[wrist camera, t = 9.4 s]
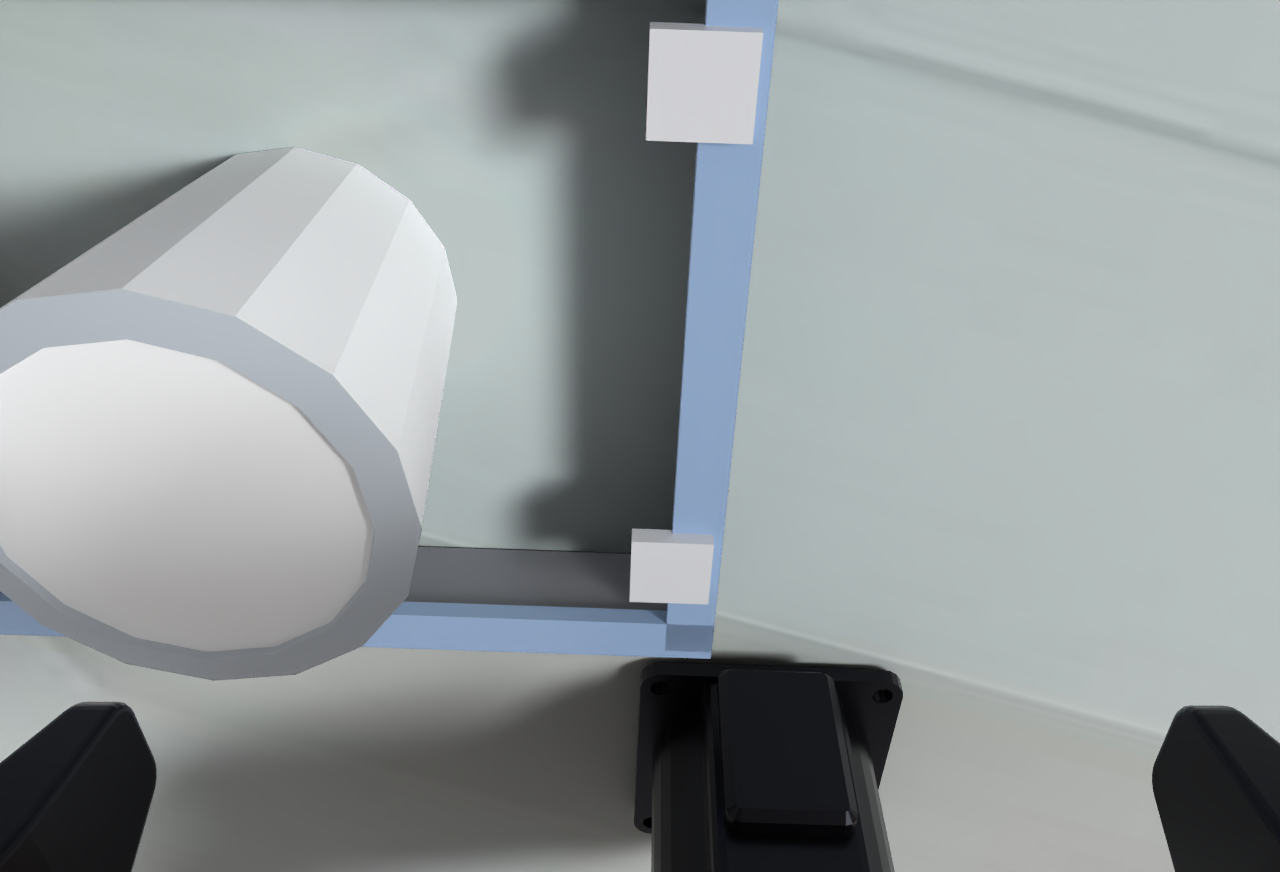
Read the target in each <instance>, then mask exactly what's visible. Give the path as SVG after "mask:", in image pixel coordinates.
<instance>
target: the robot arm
mask: <svg viewBox="0 0 1280 872" xmlns="http://www.w3.org/2000/svg"><path fill="white" fill-rule="evenodd" d="M657 682H666V683H657ZM882 689H885V690H882ZM878 690H880V691H878ZM902 698H903V691H902V687H901V683H900V679H899V678H898V676H897V675H896V674H894V673H893V672H891V671H885V670H866V669H837V668H808V667H779V666H750V665H721V664H693V663H664V662H661V663H653V664H651V665H648V666H647V667H646V668H644V669H643V670H642V673H641V681H640V702H639V724H638V745H637V766H636V788H635V809H634V823H635V826H636V827H637V828H638V829H639V830H640V831H643V832H645V833H652V866H651V872H894V867H893V862H892V857H891V852H890V847H889V842H888V837H887V832H886V827H885V822H884V818H883V813H882V808H881V803H880V798H879V793H878V788H879V785H880V781H881V777H882V773H883V770H884V766H885V762H886V758H887V755H888V751H889V747H890V743H891V739H892V736H893V732H894V728H895V724H896V721H897V717H898V713H899V709H900V706H901V702H902ZM1152 784H1153V792H1154V796H1155V800H1156V803H1157V807H1158V811H1159V814H1160V818H1161V822H1162V825H1163V829H1164V833H1165V836H1166V840H1167V844H1168V847H1169V851H1170V855H1171V858H1172V862H1173V866H1174V869H1175V872H1280V743H1279V742H1278V741H1276V740H1275V739H1274V738H1273V737H1271V736H1270V735H1269V734H1268V733H1266V732H1265V731H1264V730H1263V729H1262V728H1260V727H1259V726H1258V725H1257V724H1255V723H1254V722H1253V721H1252V720H1250V719H1249V718H1248V717H1247V716H1246V715H1244V714H1243V713H1241V712H1240V711H1238V710H1236V709H1234V708H1232V707H1228V706H1185V707H1183V708H1182V709H1180V710H1179V711H1178V712H1177V713H1176V715H1175V717H1174V719H1173V721H1172V723H1171V726H1170V728H1169V730H1168V733H1167V735H1166V737H1165V740H1164V742H1163V745H1162V747H1161V749H1160V752H1159V754H1158V756H1157V759H1156V761H1155V763H1154V767H1153V773H1152ZM155 785H156V764H155V760H154V757H153V755H152V753H151V750H150V748H149V746H148V744H147V741H146V739H145V737H144V735H143V732H142V730H141V728H140V726H139V723H138V721H137V719H136V717H135V714H134V712H133V711H132V709H131V708H130V707H129V706H127V705H126V704H125V703H122V702H82V703H78V704H76V705H74V706H72V707H70V708H69V709H67V710H66V711H64V712H63V713H62V714H61V715H59V716H58V717H57V718H56V719H54V720H53V721H52V722H51V723H49V724H48V725H47V726H46V727H45V728H43V729H42V730H41V731H40V732H38V733H37V734H36V735H35V736H33V737H32V738H31V739H30V740H28V741H27V742H26V743H25V744H23V745H22V746H21V747H20V748H18V749H17V750H16V751H15V752H13V753H12V754H11V755H10V756H8V757H7V758H6V759H5V760H3V761H2V762H1V763H0V872H132V869H133V865H134V862H135V858H136V854H137V851H138V847H139V844H140V840H141V837H142V833H143V829H144V826H145V822H146V819H147V815H148V811H149V808H150V804H151V801H152V797H153V794H154V790H155Z"/></svg>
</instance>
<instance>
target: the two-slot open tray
mask: <svg viewBox="0 0 1280 872" xmlns="http://www.w3.org/2000/svg"><path fill="white" fill-rule="evenodd" d="M777 10H778V0H706V9H705V24H695V23H668V22H650V38H649V66H648V94H647V122H646V141H671V142H697V148H696V164H695V179H694V195H693V210H692V226H691V241H690V256H689V272H688V287H687V303H686V318H685V334H684V349H683V365H682V380H681V396H680V411H679V427H678V442H677V457H676V473H675V488H674V504H673V519H672V530H660V529H632V543H631V554H618V553H589V552H561V551H532V550H504V549H475V548H447V547H418V550H417V555H416V559H415V564H414V569H413V574H412V579H411V584H410V589H409V594H408V597H407V598H406V599H405V600H404V601H403V602H402V603H401V604H400V605H399V607H398V608H397V609H396V610H395V611H394V612H393V613H392V614H391V615H390V617H389V618H388V619H387V620H386V621H385V622H384V623H383V624H382V625H381V627H380V628H379V629H378V630H377V631H376V632H375V633H374V634H373V635H372V637H371V638H370V639H369V640H368V641H367V642H366V643H365V644H364V646H362V647H382V648H411V649H440V650H468V651H497V652H526V653H555V654H584V655H613V656H642V657H671V658H699V659H711V652H712V642H713V633H714V623H715V613H716V603H717V594H718V584H719V574H720V564H721V555H722V545H723V535H724V525H725V516H726V506H727V496H728V487H729V477H730V467H731V457H732V448H733V438H734V428H735V418H736V409H737V399H738V389H739V380H740V370H741V360H742V350H743V341H744V331H745V321H746V311H747V302H748V292H749V282H750V272H751V263H752V253H753V243H754V234H755V224H756V214H757V204H758V195H759V185H760V175H761V165H762V156H763V146H764V136H765V126H766V117H767V107H768V97H769V88H770V78H771V68H772V58H773V49H774V39H775V29H776V19H777ZM0 634H6V635H35V636H64V637H67V636H65V635H63V634H61V633H58V632H56V631H54V630H52V629H50V628H47V627H45V626H43V625H41V624H40V623H39V622H38V621H36V620H35V619H34V618H33V617H31V616H30V615H29V614H28V613H26V612H25V611H24V610H23V609H22V608H20V607H19V606H18V605H17V604H15V603H14V602H13V601H12V600H10V599H9V598H8V597H7V596H6V595H4V594H3V593H2V592H1V591H0Z"/></svg>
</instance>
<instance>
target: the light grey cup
mask: <svg viewBox="0 0 1280 872" xmlns="http://www.w3.org/2000/svg"><path fill="white" fill-rule="evenodd" d="M457 302H458V299H457V295H456V291H455V287H454V283H453V279H452V275H451V271H450V267H449V262H448V258H447V254H446V250H445V247H444V246H443V245H442V243H441V242H440V241H439V239H438V238H437V236H436V235H435V234H434V232H433V231H432V229H431V228H430V227H429V225H428V224H427V222H426V221H425V220H424V218H423V217H422V216H421V214H420V213H419V211H418V210H417V209H416V207H415V206H414V204H413V203H412V202H411V200H410V199H408V198H407V197H406V196H404V195H403V194H401V193H400V192H398V191H397V190H395V189H394V188H392V187H391V186H390V185H388V184H387V183H385V182H384V181H382V180H381V179H379V178H378V177H376V176H375V175H373V174H372V173H371V172H369V171H368V170H366V169H365V168H363V167H362V166H360V165H359V164H357V163H354V162H350V161H347V160H343V159H339V158H335V157H332V156H328V155H324V154H320V153H317V152H313V151H309V150H305V149H301V148H298V147H291V148H282V149H274V150H265V151H257V152H248V153H240V154H236V155H234V156H232V157H231V158H229V159H228V160H226V161H225V162H223V163H221V164H220V165H218V166H217V167H215V168H213V169H212V170H210V171H209V172H207V173H205V174H204V175H202V176H201V177H199V178H198V179H196V180H194V181H193V182H191V183H190V184H188V185H187V186H185V187H184V188H182V189H181V190H179V191H178V192H176V193H174V194H173V195H171V196H170V197H168V198H167V199H165V200H164V201H162V202H161V203H159V204H158V205H156V206H155V207H153V208H152V209H150V210H149V211H147V212H146V213H144V214H143V215H141V216H140V217H138V218H136V219H135V220H133V221H132V222H130V223H129V224H127V225H126V226H124V227H123V228H121V229H120V230H118V231H117V232H115V233H114V234H112V235H111V236H109V237H108V238H106V239H105V240H103V241H102V242H100V243H98V244H97V245H95V246H94V247H92V248H91V249H89V250H88V251H86V252H85V253H83V254H82V255H80V256H79V257H77V258H76V259H74V260H73V261H71V262H70V263H68V264H67V265H65V266H64V267H62V268H60V269H59V270H57V271H56V272H54V273H53V274H51V275H50V276H48V277H47V278H45V279H44V280H42V281H41V282H39V283H38V284H36V285H35V286H33V287H32V288H30V289H29V290H27V291H25V292H24V293H22V294H21V295H19V296H18V297H16V298H15V299H13V300H12V301H10V302H9V303H7V304H6V305H4V306H3V307H1V308H0V591H1V592H2V593H3V594H4V595H6V596H7V597H8V598H9V599H10V600H12V601H13V602H14V603H15V604H17V605H18V606H19V607H20V608H22V609H23V610H24V611H25V612H26V613H28V614H29V615H30V616H31V617H33V618H34V619H35V620H36V621H38V622H39V623H40V624H41V625H43V626H45V627H47V628H50V629H52V630H54V631H56V632H58V633H61V634H63V635H65V636H67V637H69V638H71V639H74V640H76V641H78V642H80V643H82V644H85V645H87V646H89V647H91V648H93V649H95V650H98V651H100V652H102V653H104V654H106V655H109V656H111V657H113V658H115V659H117V660H119V661H122V662H124V663H126V664H131V665H136V666H141V667H146V668H151V669H157V670H162V671H167V672H172V673H177V674H183V675H188V676H193V677H198V678H203V679H209V680H228V679H241V678H255V677H269V676H282V675H296V674H298V673H300V672H303V671H305V670H307V669H310V668H312V667H314V666H317V665H319V664H322V663H324V662H326V661H329V660H331V659H333V658H336V657H338V656H340V655H343V654H345V653H347V652H350V651H352V650H355V649H357V648H359V647H362V646H364V644H365V643H366V642H367V641H368V640H369V639H370V638H371V637H372V635H373V634H374V633H375V632H376V631H377V630H378V629H379V628H380V627H381V625H382V624H383V623H384V622H385V621H386V620H387V619H388V618H389V617H390V615H391V614H392V613H393V612H394V611H395V610H396V609H397V608H398V607H399V605H400V604H401V603H402V602H403V601H404V600H405V599H406V598H407V597H408V594H409V589H410V584H411V579H412V574H413V569H414V564H415V559H416V555H417V550H418V545H419V540H420V535H421V530H422V524H423V518H424V511H425V505H426V499H427V492H428V486H429V480H430V473H431V467H432V460H433V454H434V448H435V441H436V435H437V429H438V422H439V416H440V410H441V403H442V397H443V391H444V384H445V378H446V372H447V365H448V359H449V353H450V346H451V340H452V334H453V327H454V321H455V314H456V308H457Z"/></svg>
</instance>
